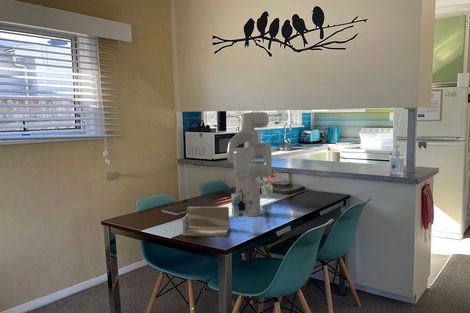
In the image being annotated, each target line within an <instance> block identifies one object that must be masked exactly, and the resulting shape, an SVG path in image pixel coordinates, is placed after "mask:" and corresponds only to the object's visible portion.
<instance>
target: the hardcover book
mask: <svg viewBox="0 0 470 313" xmlns="http://www.w3.org/2000/svg"><path fill="white" fill-rule="evenodd" d="M187 207H206V205H205V204H204V205H203V204H201V203H196V202H195V203H193V202H185V203H181V204H175V205H172V206H168V207H165V208H164V207H163V208H161V209H160V212H162V213H165V214H169V215H174V216H180V215H183V214H188V211H187Z"/></svg>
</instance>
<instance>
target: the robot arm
mask: <svg viewBox="0 0 470 313" xmlns="http://www.w3.org/2000/svg"><path fill="white" fill-rule="evenodd" d="M269 118H270V117H269V114H268V112H263V111H262V112H261V111H260V112H259V111H258V112H257V111H256V112H255V111H254V112H244V113H241V114H240V115H239V116H238V120H239V126H238V132H237V133H236V134H234V136H232V138H231V139H230V140H229V141H228V145H227V149H226V150H227V151H226V159H227V161H228V162H230V163H233V178H235V194H236V198H237V197H238V196H239V203H238V207H239V211H245V203H244V198H245V197H246V194H247V193H250V192H251V193H252V194H253V196H254V216H253V217H258V216H262V215H263V214H264V211H263V210H261V186H260V185H261V184H260V182H259V181H258V179H257V178H270V177H271V176H272V172H273V171H272V168H273V166H272V147H271V145H270V143H268V142H259V141H260V140H259V136H260V134H259V132H258V131H257V130H256V129H255V128H266V127H268V125H269V121H270V119H269ZM240 145H244V147H238V146H240ZM259 160H260V161H259ZM242 196H243V197H242Z"/></svg>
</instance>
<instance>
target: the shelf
mask: <svg viewBox="0 0 470 313" xmlns="http://www.w3.org/2000/svg"><path fill="white" fill-rule="evenodd" d="M187 211H188V213H185V214H186V215H185V216H183V218H182V233H181V235H182V237H226V236H227V234H228V232H229V230H230V207H229V206H204V207H187Z"/></svg>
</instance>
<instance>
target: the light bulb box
mask: <svg viewBox="0 0 470 313" xmlns="http://www.w3.org/2000/svg"><path fill="white" fill-rule="evenodd" d="M242 197H243V196H242ZM230 198H231V215H232V217H233V218H243V217H244V218H245V217H255V216H254V196H253V194H252V193H251V192H250V193H247V194H246V197H245V198H244V203H245V211H239V207H238V203H239V196H238V197H237V198H236V193H231V197H230Z"/></svg>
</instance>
